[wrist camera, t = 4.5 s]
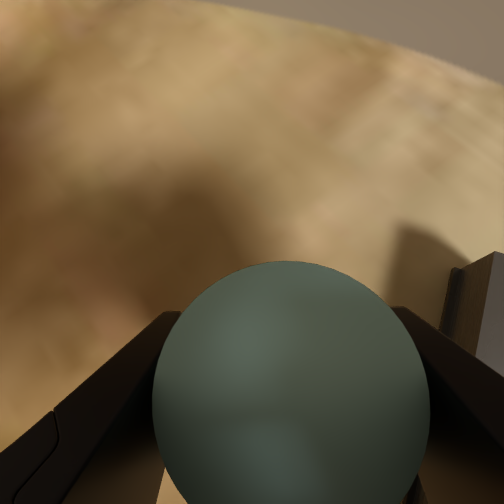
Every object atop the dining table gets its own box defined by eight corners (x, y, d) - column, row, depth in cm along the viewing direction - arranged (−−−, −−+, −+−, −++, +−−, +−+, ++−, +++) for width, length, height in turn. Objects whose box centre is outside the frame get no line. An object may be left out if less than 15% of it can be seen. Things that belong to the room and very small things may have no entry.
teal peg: (259, 472, 15) (238, 622, 6) (198, 359, 16) (107, 345, 7) (365, 403, 15) (490, 448, 6) (298, 298, 16) (327, 216, 8)
